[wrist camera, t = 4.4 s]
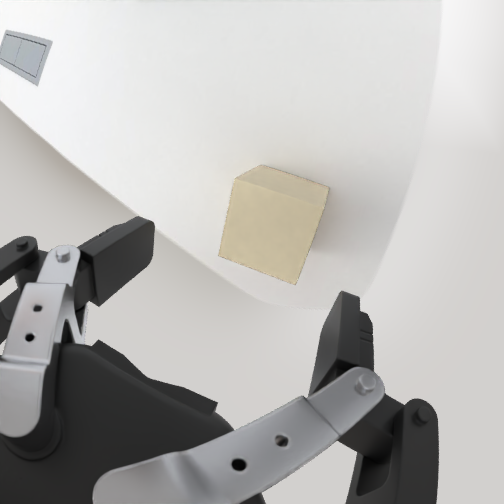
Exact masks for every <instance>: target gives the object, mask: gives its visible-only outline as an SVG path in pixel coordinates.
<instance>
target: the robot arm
mask: <svg viewBox="0 0 504 504" xmlns="http://www.w3.org/2000/svg"><path fill="white" fill-rule="evenodd" d="M154 231H155V225H154V222H152V221H150V220H147V219H145V218H142V217H139V216H137V217H135V218H133V219H131V220H129V221H128V222H126V223H123V224H119V225H115V226H113V227H111V228H109V229H107V230H106V231H105V232H102V233H101V234H99V236H95V237H93V238H92V239H90V240H88V241H87V242H85V243H83V244H82V245H80V246H78V247H75V246H72V245H61V246H57V247H55V248H53V249H51V250H50V251H49V252H46V251H41V250H38V245H37V241H36V239H35V238H34V237H31V236H23V237H19V238H17V239H15V240H13V241H11V242H10V243H8V244H7V245H5V246H4V247H2V248H0V285H2V284H3V283H4V282H6V281H7V280H8V279H10V278H11V277H12V276H15V279H16V283H17V286H18V288H17V290H15V291H14V292H13V293H11V294H10V295H9V296H7V297H6V298H5V299H4V300H3V301H1V302H0V344H1V343H2V342H3V341H4V340H5V339H6V338H7V339H6V343H5V347H4V350H3V354H2V355H0V504H266V503H265V501H264V498H263V496H262V492H264V491H265V490H267V489H268V488H270V487H272V486H273V485H275V484H277V483H278V482H280V481H282V480H283V479H285V478H286V477H288V476H289V475H291V474H292V473H294V472H295V471H296V470H298V469H300V468H301V467H303V466H304V465H305V464H307V463H308V462H310V461H311V460H312V459H314V458H315V457H316V456H318V455H319V454H320V453H322V452H323V451H324V450H326V449H327V448H328V447H330V446H331V445H332V444H333V443H334V442H336V441H339V442H340V443H342V444H344V445H346V446H347V447H349V448H351V449H353V450H354V451H356V452H357V457H356V462H355V467H354V471H353V476H352V480H351V484H350V488H349V493H348V496H347V500H346V504H436V500H437V488H438V466H439V440H438V439H439V438H438V437H439V436H438V418H437V414H436V412H435V410H434V409H433V407H432V406H431V405H430V404H429V403H427V402H426V401H424V400H422V399H412V400H410V401H409V402H407V403H406V404H405V405H403V404H401V403H400V402H398V401H396V400H395V399H393V398H391V397H389V396H388V395H386V394H385V388H384V384H383V382H382V380H381V378H380V377H379V376H378V375H377V374H376V373H375V372H374V349H373V335H372V334H373V326H372V322H371V320H370V318H369V316H368V314H367V313H364V312H361V311H360V298H359V297H358V296H355V295H353V294H350V293H347V292H344V291H341V292H340V293H339V295H338V297H337V299H336V301H335V303H334V305H333V307H332V309H331V311H330V313H329V315H328V317H327V319H326V321H325V323H324V325H323V328H322V331H321V335H320V340H319V345H318V351H317V357H316V362H315V366H314V371H313V376H312V381H311V386H310V390H309V394H308V397H307V398H305V397H304V396H300V397H297V398H295V399H293V400H292V401H290V402H288V403H287V404H285V405H283V406H281V407H279V408H277V409H276V410H274V411H272V412H270V413H268V414H266V415H264V416H262V417H261V418H259V419H257V420H255V421H253V422H251V423H249V424H247V425H245V426H243V427H240V428H239V429H236V430H234V429H233V428H232V427H231V425H230V424H229V423H228V422H227V421H226V420H225V419H223V417H221V416H220V415H219V414H217V413H216V412H215V410H216V407H217V404H218V402H215V401H213V400H210V399H208V398H206V397H204V396H201V395H199V394H197V393H195V392H193V391H191V390H188V389H186V388H184V387H180V386H175V385H172V384H168V383H164V382H160V381H157V380H153V379H150V378H148V377H146V376H145V375H144V374H143V373H142V372H141V371H140V370H138V369H137V368H136V367H135V366H134V365H133V364H132V363H131V362H130V361H129V360H128V359H127V358H126V357H125V356H124V355H123V354H121V353H119V352H118V351H116V350H115V349H113V348H111V347H110V346H108V345H107V344H105V343H103V342H102V341H100V340H98V341H97V342H96V343H95V344H94V345H93V346H89V345H85V333H86V322H87V314H88V305H87V302H88V301H90V302H92V303H94V304H95V305H97V306H98V307H99V306H101V305H102V304H103V303H104V302H105V301H106V300H108V299H109V298H110V297H111V296H112V295H113V294H115V293H116V292H117V291H118V290H119V289H120V288H122V287H123V286H124V285H125V284H126V283H128V282H129V281H130V280H131V279H132V278H134V277H135V276H136V275H137V274H138V273H140V272H141V271H142V270H143V269H145V268H146V267H147V266H148V265H149V263H150V262H151V260H152V256H153V246H154Z"/></svg>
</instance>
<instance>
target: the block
mask: <svg viewBox="0 0 504 504" xmlns="http://www.w3.org/2000/svg"><path fill="white" fill-rule="evenodd" d="M328 192H329V187H326V186H324V185H321V184H318V183H315V182H312V181H309V180H306V179H303V178H301V177H298V176H295V175H292V174H288V173H285V172H282V171H279V170H276V169H273V168H270V167H266V166H263V165H259V166H257V167H255V168H253V169H252V170H250V171H248V172H246V173H244V174H242V175H240V176H238V177H236V178H235V179H234V184H233V188H232V193H231V197H230V202H229V206H228V211H227V216H226V220H225V225H224V230H223V235H222V240H221V245H220V250H219V255H218V256H220V257H223V258H225V259H228V260H231V261H233V262H236V263H238V264H241V265H244V266H246V267H249V268H251V269H254V270H257V271H259V272H262V273H265V274H267V275H270V276H272V277H275V278H278V279H280V280H283V281H286V282H288V283H291V284H294V285H296V283H297V281H298V278H299V275H300V273H301V270H302V268H303V265H304V262H305V260H306V257H307V255H308V252H309V249H310V247H311V244H312V241H313V239H314V236H315V233H316V230H317V228H318V225H319V222H320V219H321V216H322V214H323V211H324V208H325V204H326V200H327V196H328Z"/></svg>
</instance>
